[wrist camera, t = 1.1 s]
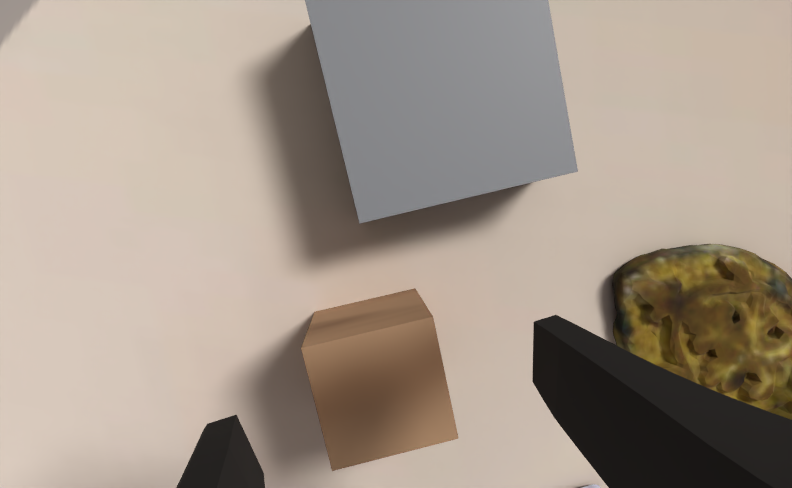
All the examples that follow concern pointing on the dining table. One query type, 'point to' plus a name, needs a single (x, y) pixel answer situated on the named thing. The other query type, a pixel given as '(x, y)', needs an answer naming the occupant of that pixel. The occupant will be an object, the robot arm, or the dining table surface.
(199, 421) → the dining table surface
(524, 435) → the dining table surface
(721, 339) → the seal
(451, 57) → the grey block
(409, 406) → the walnut cube
